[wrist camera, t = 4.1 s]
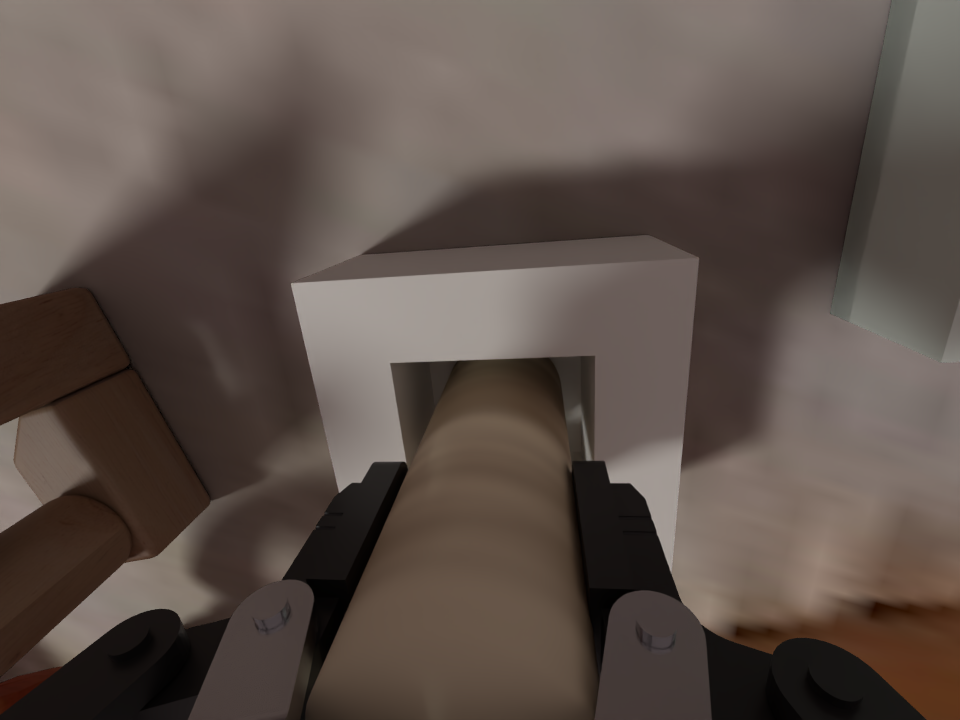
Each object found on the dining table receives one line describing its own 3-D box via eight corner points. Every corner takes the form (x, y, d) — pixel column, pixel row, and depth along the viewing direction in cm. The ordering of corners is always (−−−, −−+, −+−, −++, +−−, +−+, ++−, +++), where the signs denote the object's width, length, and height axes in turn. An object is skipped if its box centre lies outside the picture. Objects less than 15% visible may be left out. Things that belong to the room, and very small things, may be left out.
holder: (360, 255, 16) (290, 283, 12) (648, 234, 15) (699, 257, 10) (400, 486, 20) (359, 578, 15) (636, 486, 19) (670, 587, 14)
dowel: (442, 340, 16) (272, 634, 5) (560, 335, 15) (613, 650, 5) (454, 440, 17) (336, 821, 7) (562, 439, 17) (607, 849, 6)
